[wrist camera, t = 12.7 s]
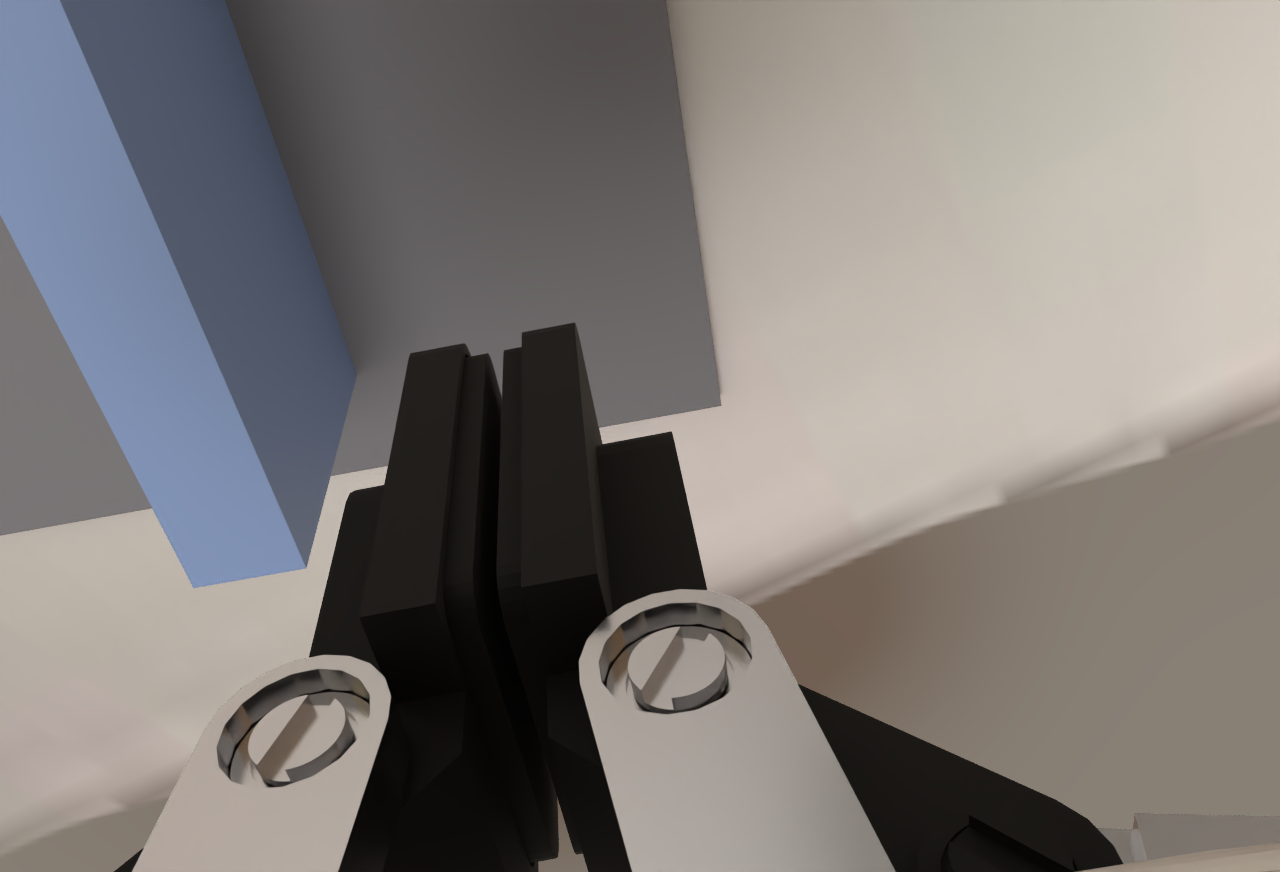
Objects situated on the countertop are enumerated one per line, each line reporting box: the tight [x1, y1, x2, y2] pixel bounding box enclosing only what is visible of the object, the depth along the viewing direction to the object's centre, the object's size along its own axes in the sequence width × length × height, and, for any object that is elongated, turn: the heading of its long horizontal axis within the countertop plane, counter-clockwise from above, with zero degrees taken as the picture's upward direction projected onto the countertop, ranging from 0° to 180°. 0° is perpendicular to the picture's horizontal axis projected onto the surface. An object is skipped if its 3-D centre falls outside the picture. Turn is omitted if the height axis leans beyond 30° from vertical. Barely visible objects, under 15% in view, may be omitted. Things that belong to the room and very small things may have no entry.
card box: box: [0, 0, 357, 588], centre depth 17 cm, size 9×2×6 cm, turn 9°
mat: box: [0, 0, 721, 535], centre depth 19 cm, size 16×14×1 cm
